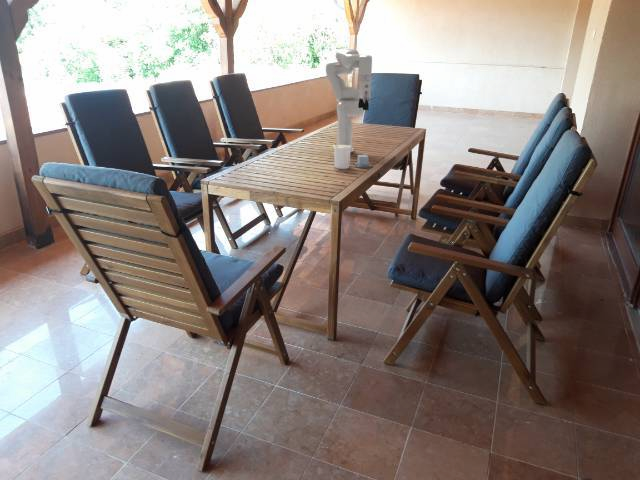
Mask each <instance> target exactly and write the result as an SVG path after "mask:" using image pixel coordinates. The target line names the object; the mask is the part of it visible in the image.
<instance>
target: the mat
mask: <svg viewBox="0 0 640 480" xmlns="http://www.w3.org/2000/svg"><path fill="white" fill-rule="evenodd" d="M352 165H354V167H356V168H358V169H359V168H360V169H361V168H363V169H365V168H373V167H374V166H373V165H372V164H371V163H370V162H368V165H363V166H360V165H358V164H357V162H353V163H352Z"/></svg>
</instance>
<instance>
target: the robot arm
mask: <svg viewBox="0 0 640 480" xmlns="http://www.w3.org/2000/svg"><path fill="white" fill-rule="evenodd" d="M335 59H336V60H331V61H328V62H327V64H326V66H325V73H326V77H327V80H328V81H329V83H330V85H331V87H332V91H333V95H334V97H335V98H334V99H335V100H336V102H337V105H336V113H337V141H336V142H337V144H336V145H349V146H351V153H354V151H355V149H354V148H353V127H354V126H353V125H354V124H353V122H352V120H351V118H350V117H360V116H362V115H363V114H364V112H365V111H369V108H370V107H369V105H370V99H371V96H372V95H371V91H372V89H371V86H372V85H371V82H372V71H373V70H372V68H373V57H372V55H369V54H368V55H367V54H361V53H360V52H359V51H358V50H357V49H356V48H355V49H354V48H342V49H339V50H338V51H336V53H335ZM355 69H358V71H357V72H358V73H357V81H358V88H357V87H354V86H353V87H352V86H350V87H349V86H346V83H345V80H344V79H343V78H342V77H341V76H340V75H351V74H352V73H353V72H354V70H355Z"/></svg>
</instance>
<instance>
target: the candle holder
mask: <svg viewBox="0 0 640 480" xmlns="http://www.w3.org/2000/svg"><path fill="white" fill-rule="evenodd" d="M333 153H334V154H333V155H334V156H333V157H334V159H333V160H334V161H333V162H334V168H335V169H339V170H346V169H349V167H350V164H351V162H350V161H351V153H352V152H351V146H349V145H337V144H335V145H334V146H333Z"/></svg>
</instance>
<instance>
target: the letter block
mask: <svg viewBox="0 0 640 480" xmlns="http://www.w3.org/2000/svg"><path fill="white" fill-rule="evenodd" d="M356 163H357V164H358V165H360V166H363V165H368V163H369V156H368V155H367V154H357V161H356Z"/></svg>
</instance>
